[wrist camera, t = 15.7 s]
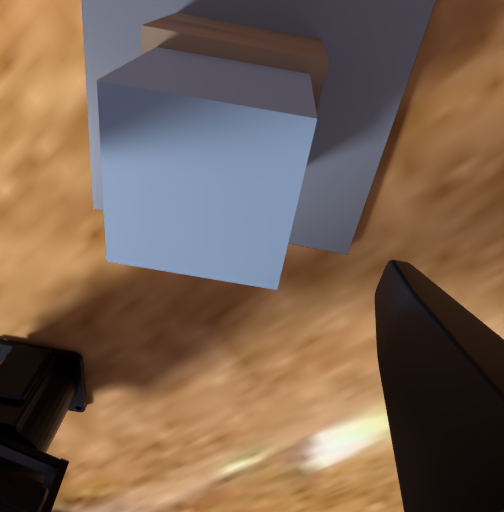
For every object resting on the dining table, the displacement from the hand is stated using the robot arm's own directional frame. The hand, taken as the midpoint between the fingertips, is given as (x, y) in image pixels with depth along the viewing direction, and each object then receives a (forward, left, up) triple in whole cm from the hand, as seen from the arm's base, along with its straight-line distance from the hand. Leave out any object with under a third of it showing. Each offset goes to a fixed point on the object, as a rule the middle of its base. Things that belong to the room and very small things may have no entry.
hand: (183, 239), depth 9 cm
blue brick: (0, 0, -7) cm, 7 cm away
